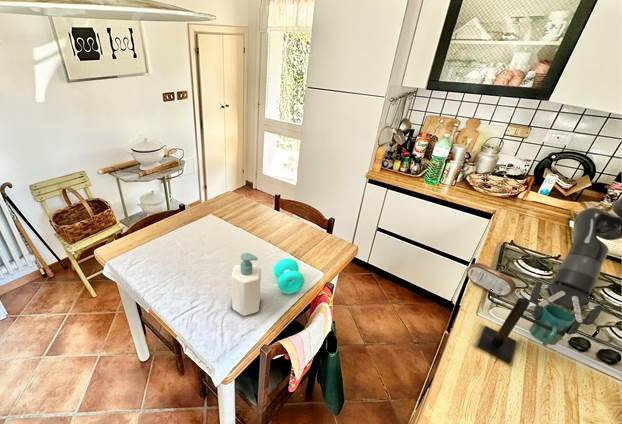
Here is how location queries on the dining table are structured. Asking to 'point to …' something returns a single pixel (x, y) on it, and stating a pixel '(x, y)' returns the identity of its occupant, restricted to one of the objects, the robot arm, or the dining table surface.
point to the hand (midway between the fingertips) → (551, 326)
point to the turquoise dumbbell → (288, 276)
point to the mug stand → (507, 333)
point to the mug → (551, 324)
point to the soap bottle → (246, 286)
